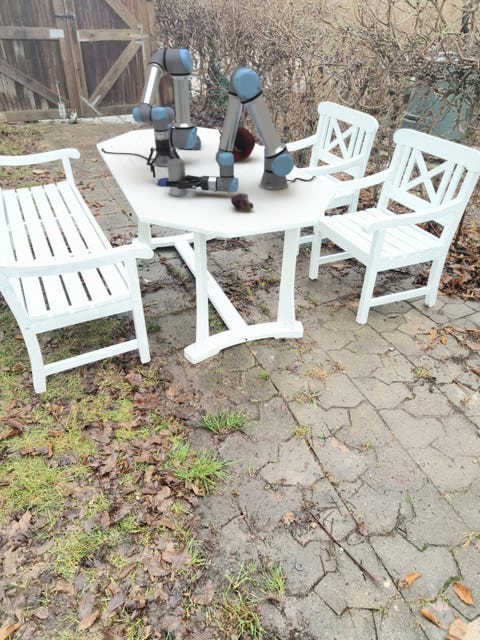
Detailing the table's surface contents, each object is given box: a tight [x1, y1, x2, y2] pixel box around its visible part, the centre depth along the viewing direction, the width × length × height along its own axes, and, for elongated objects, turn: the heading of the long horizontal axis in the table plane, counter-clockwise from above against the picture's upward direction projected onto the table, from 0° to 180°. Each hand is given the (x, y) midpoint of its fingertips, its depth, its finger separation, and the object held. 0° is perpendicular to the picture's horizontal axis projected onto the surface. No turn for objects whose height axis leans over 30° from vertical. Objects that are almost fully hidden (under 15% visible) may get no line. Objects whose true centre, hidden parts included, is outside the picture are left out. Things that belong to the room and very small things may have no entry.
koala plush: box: [181, 119, 202, 151], centre depth 323 cm, size 17×18×20 cm
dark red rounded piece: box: [218, 126, 257, 162], centre depth 296 cm, size 21×24×25 cm
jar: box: [166, 158, 188, 197], centre depth 241 cm, size 9×9×18 cm
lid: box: [157, 177, 169, 187], centre depth 260 cm, size 10×10×2 cm
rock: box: [230, 192, 254, 211], centre depth 223 cm, size 12×9×10 cm
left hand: (166, 177), depth 259 cm, fingers open, 13 cm apart
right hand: (169, 180), depth 243 cm, fingers closed on jar, 9 cm apart
